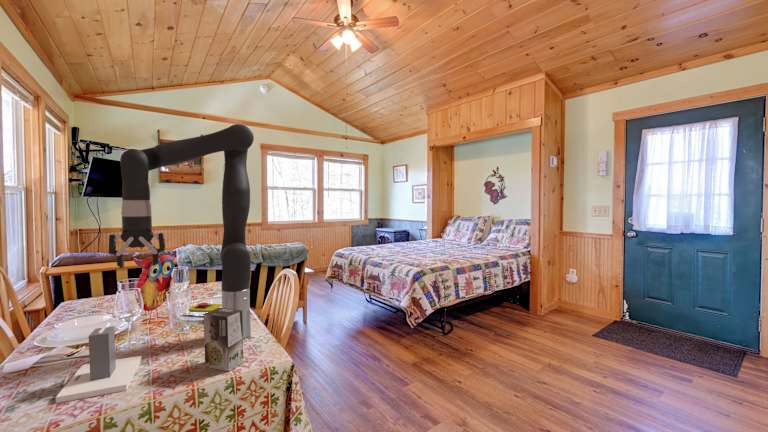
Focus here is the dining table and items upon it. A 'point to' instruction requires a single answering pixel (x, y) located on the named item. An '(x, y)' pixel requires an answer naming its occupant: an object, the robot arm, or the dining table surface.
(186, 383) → the dining table surface
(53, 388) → the dining table surface
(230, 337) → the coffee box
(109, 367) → the tall gray prism
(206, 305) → the emergency button
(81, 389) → the shaft base
